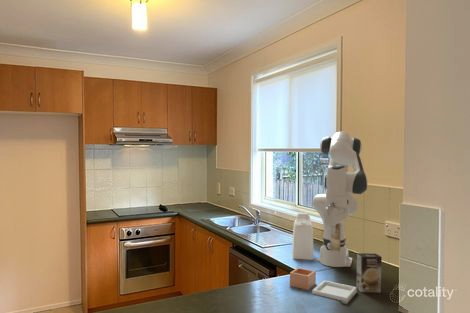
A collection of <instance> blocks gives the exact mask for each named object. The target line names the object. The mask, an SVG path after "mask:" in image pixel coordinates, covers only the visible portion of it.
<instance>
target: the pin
mask: <svg viewBox="0 0 470 313" xmlns="http://www.w3.org/2000/svg"><path fill="white" fill-rule="evenodd" d="M340 226H341V225H340V224H336V227H335V228H336V234H335V235H333V234H331V252H334V253H339V252H340Z"/></svg>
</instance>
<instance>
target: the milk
mask: <svg viewBox="0 0 470 313" xmlns="http://www.w3.org/2000/svg"><path fill="white" fill-rule="evenodd" d="M311 220H312V219H311V218H310V214H309V213H308V212H307V213H306V212H298V213H297V215H296V217H295V220H294V221H293V227H292V228H293V231H292V243H291V244H292V245H291V257H292V259H294V260H309V261H310V260H314V259H315V258H314V257H315V256H314V227H313V223H312V221H311Z"/></svg>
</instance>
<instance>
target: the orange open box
mask: <svg viewBox="0 0 470 313" xmlns="http://www.w3.org/2000/svg"><path fill="white" fill-rule="evenodd" d="M316 272H317V271H316V270H311V269H306V268H303V267H297V268H295V269H294V270H292V271H290V272H289V287H293V288H299V289H302V290H305V291H306V290H307V291H309V290H310V289H311V288H312V287H314V286H315V285H316V284H317V283H316V282H317V281H316V280H317V276H316V275H317V273H316Z"/></svg>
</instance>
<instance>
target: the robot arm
mask: <svg viewBox="0 0 470 313" xmlns="http://www.w3.org/2000/svg"><path fill="white" fill-rule="evenodd" d="M319 146H320V147H319V149H320V151H321V153H322V154H323V155H327V156H328V155H329V157H330V159H329V163H328V167H327V171H326V175H324V188H325V189H326V193H319V194H315V195H314V197H313V199H312V207H313V209H314V210H315V211H316V212H317V213H318V215H319V216H320V218H321V220H322V223H323V238H322V245H321V246H320V248H319V249H320V250H319V251H320V252H319V258H317V259H316V261H317V262H320V264H322V265H324V266H326V267H327V266H328V267H333V268H342V267H343V268H344V267H348V268H349V267H352V266H351V265H352V262H353V257H349V249H348V248H347V246H346V240H347V239H346V237H345V225H344V224H343V222H344V221H346V220H347V216H353V215H355V214H356V212H357V211H358V208H359V205H358V201H357V199H356V198H355V197H354V196H353V195H352V194H354V195H362V194H363V193H365V192H366V191H367V190H368V185H369V183H368V177H367V175H366V173H365V171H364V167H363V163H362V160H361V156H360V153H361V152H362V149H363V145H362V143H361V140H360V139H359V138H357V137H351V136H350V134H349V133H348V132H346V131H343V130H342V131H337V132H336V133H334V134H333V136H330V135H327V136H324V137H322V140H321V141H320V145H319ZM349 167H351V168H352V170H353V171H349ZM336 224H340V225H341V226H340V252H339V253H334V252H331V234H333V235H335V234H336V228H335V227H336Z"/></svg>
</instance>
